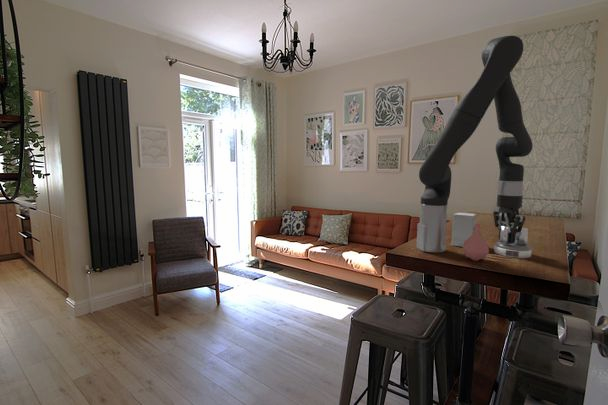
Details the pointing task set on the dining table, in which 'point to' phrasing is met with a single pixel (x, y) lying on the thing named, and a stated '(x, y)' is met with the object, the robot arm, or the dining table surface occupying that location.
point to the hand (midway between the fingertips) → (506, 241)
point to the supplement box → (462, 228)
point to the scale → (512, 250)
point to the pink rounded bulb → (475, 245)
